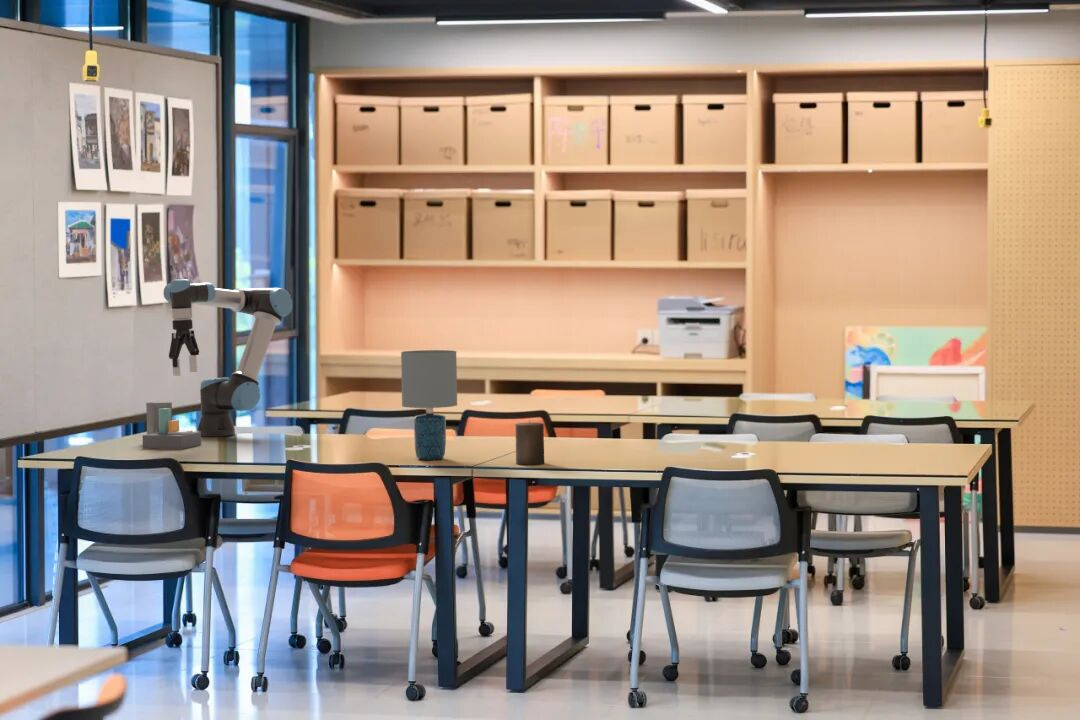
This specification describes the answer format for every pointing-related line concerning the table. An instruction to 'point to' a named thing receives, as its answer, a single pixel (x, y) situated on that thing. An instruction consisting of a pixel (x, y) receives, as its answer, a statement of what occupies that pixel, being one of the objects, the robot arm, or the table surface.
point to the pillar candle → (529, 443)
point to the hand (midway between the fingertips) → (185, 373)
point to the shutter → (176, 428)
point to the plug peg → (164, 420)
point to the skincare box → (155, 415)
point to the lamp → (429, 396)
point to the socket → (171, 440)
